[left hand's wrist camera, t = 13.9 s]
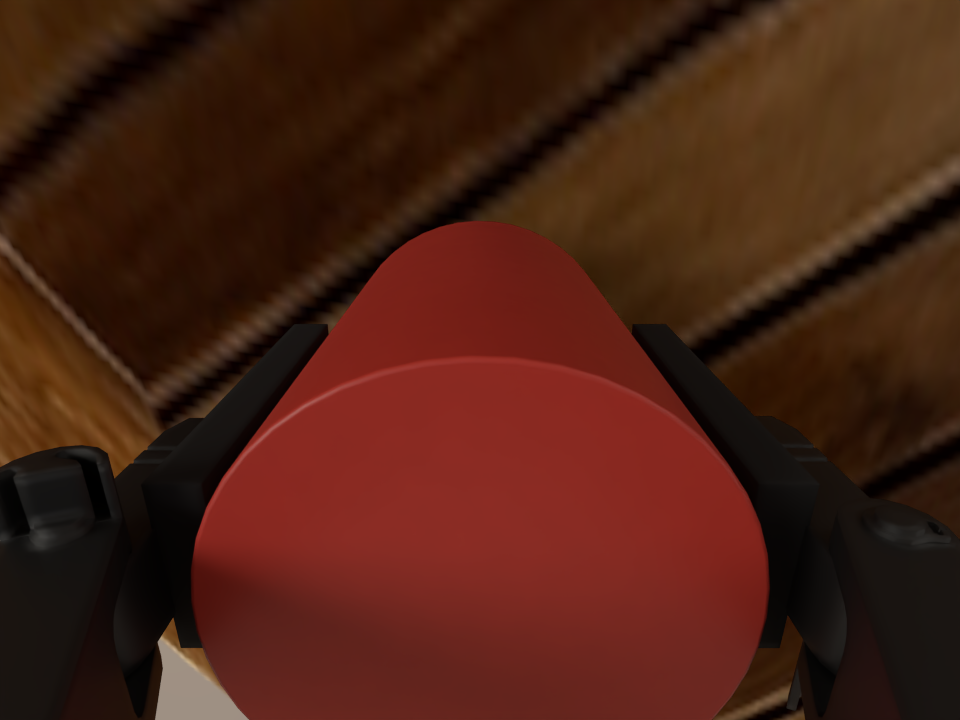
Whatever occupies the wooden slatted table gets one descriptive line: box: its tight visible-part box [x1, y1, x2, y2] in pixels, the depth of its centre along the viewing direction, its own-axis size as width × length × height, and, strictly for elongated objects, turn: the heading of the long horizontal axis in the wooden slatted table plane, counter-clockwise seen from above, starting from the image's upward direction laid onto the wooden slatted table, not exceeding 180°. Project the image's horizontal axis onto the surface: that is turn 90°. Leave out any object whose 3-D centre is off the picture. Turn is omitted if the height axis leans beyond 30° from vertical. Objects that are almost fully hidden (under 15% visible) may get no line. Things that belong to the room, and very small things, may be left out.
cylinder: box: [191, 221, 770, 720], centre depth 12 cm, size 7×7×10 cm
